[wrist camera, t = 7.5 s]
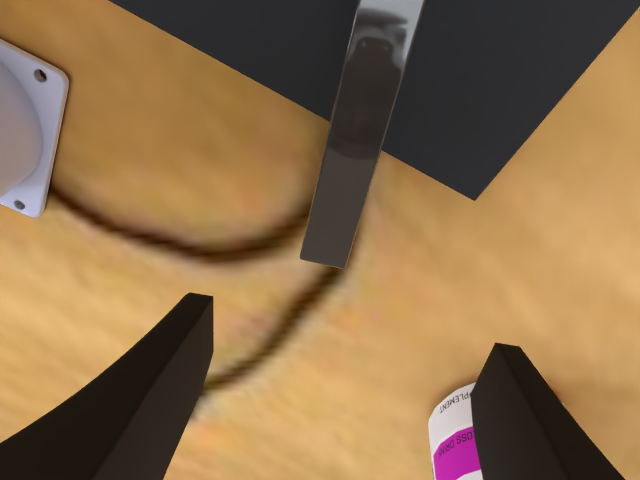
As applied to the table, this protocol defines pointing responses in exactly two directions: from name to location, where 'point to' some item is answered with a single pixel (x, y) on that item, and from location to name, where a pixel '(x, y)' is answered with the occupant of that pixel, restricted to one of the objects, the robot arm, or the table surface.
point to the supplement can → (454, 438)
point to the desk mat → (415, 67)
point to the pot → (359, 124)
